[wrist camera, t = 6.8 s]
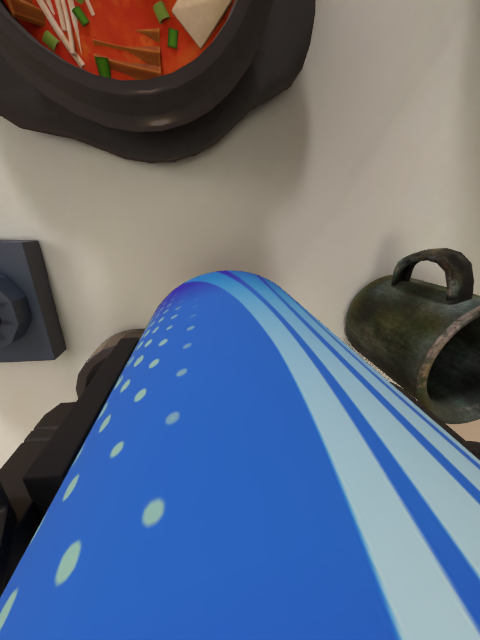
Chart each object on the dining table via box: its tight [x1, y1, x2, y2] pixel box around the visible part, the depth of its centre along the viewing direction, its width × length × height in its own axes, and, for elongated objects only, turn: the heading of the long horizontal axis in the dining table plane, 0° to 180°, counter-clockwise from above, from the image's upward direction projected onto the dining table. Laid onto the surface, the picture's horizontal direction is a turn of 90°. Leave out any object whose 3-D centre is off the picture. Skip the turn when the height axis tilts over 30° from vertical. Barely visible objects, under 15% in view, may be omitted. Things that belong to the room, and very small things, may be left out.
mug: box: [346, 248, 480, 424], centre depth 24 cm, size 11×15×12 cm
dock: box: [76, 329, 145, 399], centre depth 27 cm, size 11×11×4 cm
